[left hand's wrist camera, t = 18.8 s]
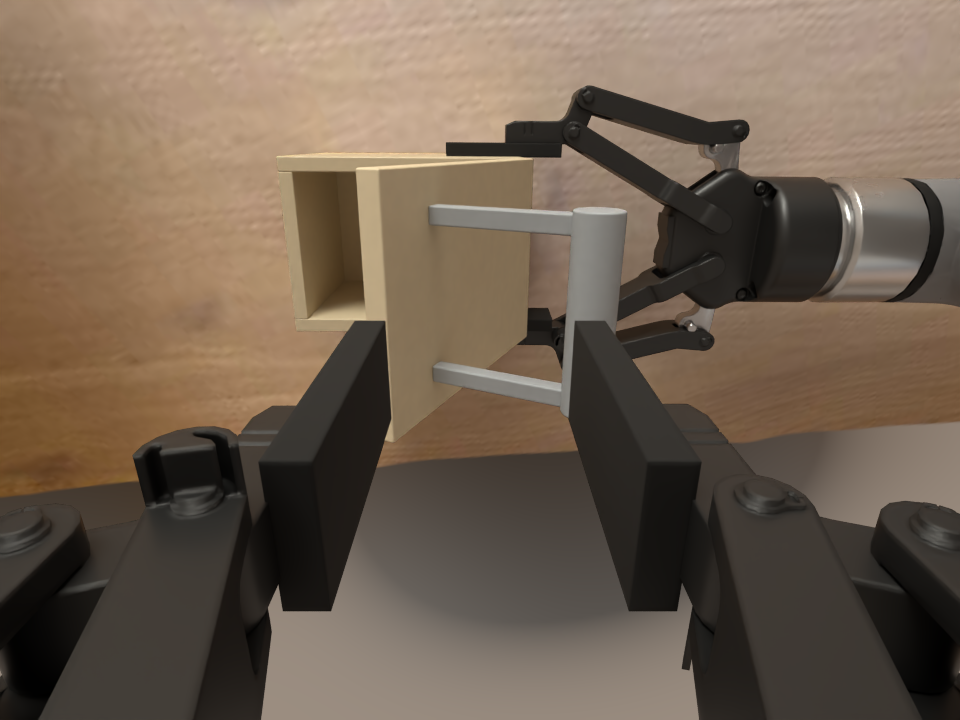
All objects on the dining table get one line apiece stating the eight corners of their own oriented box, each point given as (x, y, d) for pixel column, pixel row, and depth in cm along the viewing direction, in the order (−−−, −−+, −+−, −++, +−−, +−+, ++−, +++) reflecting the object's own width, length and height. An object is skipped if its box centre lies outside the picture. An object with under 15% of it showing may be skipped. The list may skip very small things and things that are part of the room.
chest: (337, 288, 43) (296, 331, 33) (326, 152, 39) (275, 156, 30) (510, 289, 43) (519, 332, 33) (513, 153, 39) (524, 158, 30)
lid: (373, 438, 21) (579, 492, 18) (354, 167, 18) (605, 175, 15) (512, 334, 33) (652, 355, 30) (517, 157, 29) (677, 161, 26)
